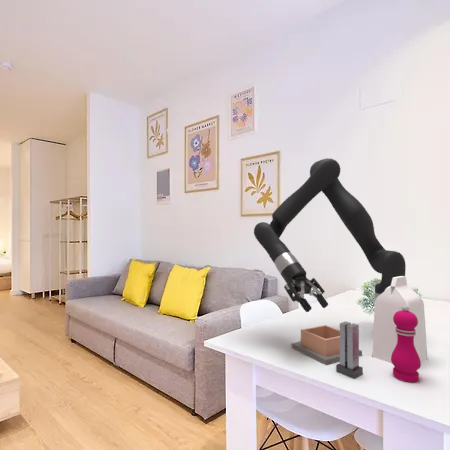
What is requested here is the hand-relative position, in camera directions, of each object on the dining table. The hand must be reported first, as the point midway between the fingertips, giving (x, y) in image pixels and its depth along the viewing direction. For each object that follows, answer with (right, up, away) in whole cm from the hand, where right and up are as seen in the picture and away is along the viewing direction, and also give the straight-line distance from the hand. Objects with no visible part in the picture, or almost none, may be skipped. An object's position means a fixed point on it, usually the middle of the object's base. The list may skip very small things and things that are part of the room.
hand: (317, 308), depth 99 cm
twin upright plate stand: (+6, -16, -9) cm, 20 cm away
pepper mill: (+21, -16, -11) cm, 29 cm away
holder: (+5, -16, +7) cm, 19 cm away
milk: (+27, -17, +2) cm, 32 cm away
